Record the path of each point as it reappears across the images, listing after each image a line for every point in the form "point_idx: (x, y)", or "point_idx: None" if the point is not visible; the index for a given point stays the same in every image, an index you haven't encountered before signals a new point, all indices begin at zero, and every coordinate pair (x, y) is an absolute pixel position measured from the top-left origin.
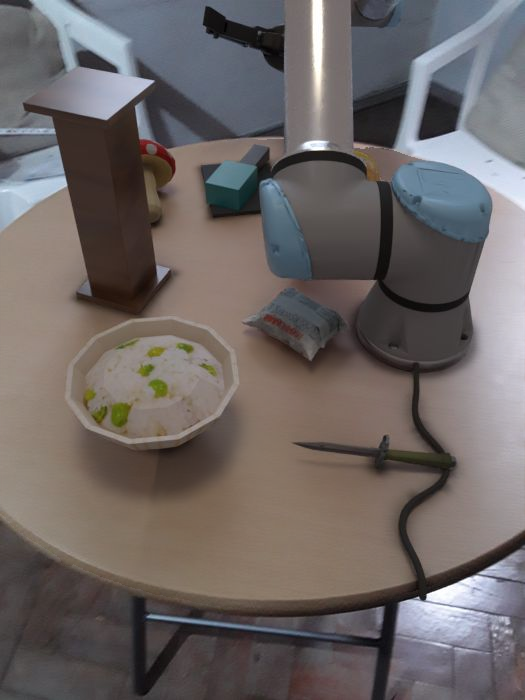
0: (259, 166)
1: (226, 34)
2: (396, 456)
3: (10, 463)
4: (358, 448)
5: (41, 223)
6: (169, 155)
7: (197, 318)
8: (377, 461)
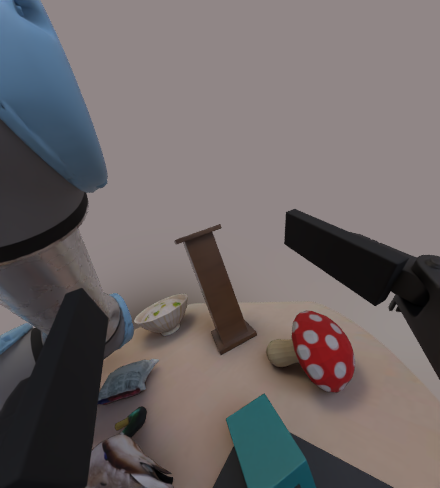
0: None
1: (410, 323)
2: None
3: (200, 303)
4: None
5: (316, 312)
6: (296, 351)
7: (186, 353)
8: None
